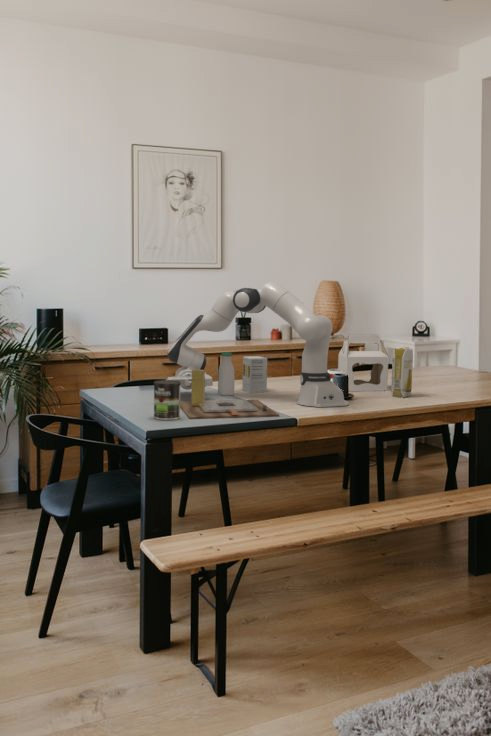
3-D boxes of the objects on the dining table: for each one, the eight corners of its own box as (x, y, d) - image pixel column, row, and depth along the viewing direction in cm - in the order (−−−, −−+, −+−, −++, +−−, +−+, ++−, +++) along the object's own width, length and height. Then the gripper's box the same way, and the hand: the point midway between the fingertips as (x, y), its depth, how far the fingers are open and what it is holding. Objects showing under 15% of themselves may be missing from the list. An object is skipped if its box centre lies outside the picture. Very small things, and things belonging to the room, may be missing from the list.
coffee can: (173, 421, 262) (173, 384, 260) (149, 418, 265) (149, 382, 264) (185, 416, 271) (185, 381, 270) (161, 414, 275) (161, 379, 273)
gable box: (377, 387, 360) (379, 333, 357) (387, 391, 347) (389, 335, 344) (336, 387, 355) (338, 333, 352) (345, 391, 343) (347, 335, 339)
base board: (257, 401, 309) (257, 394, 309) (279, 416, 274) (279, 409, 274) (177, 403, 301) (177, 396, 301) (189, 419, 266) (189, 411, 266)
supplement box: (241, 390, 342) (242, 356, 340) (258, 389, 346) (259, 355, 344) (250, 393, 333) (250, 358, 331) (267, 392, 337) (267, 357, 335)
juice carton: (404, 398, 324) (406, 347, 321) (389, 396, 329) (391, 346, 326) (412, 396, 332) (415, 346, 329) (397, 394, 336) (399, 345, 333)
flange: (245, 402, 301) (246, 367, 299) (262, 414, 273) (262, 376, 271) (189, 403, 295) (189, 368, 293) (200, 415, 267) (200, 377, 265)
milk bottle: (237, 395, 326) (238, 353, 324) (223, 396, 322) (224, 353, 320) (228, 392, 333) (229, 351, 330) (214, 394, 328) (215, 352, 326)
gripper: (164, 373, 312) (168, 377, 299) (209, 372, 317) (214, 376, 303) (164, 386, 313) (168, 391, 300) (209, 386, 318) (214, 390, 304)
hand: (192, 383), depth 302 cm, fingers closed
